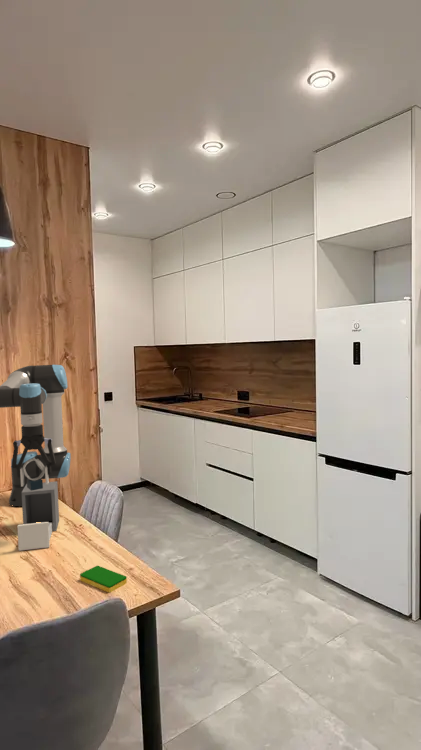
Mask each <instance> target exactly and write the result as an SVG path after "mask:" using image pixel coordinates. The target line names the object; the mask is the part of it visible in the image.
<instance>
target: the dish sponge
mask: <svg viewBox="0 0 421 750" xmlns="http://www.w3.org/2000/svg"><path fill="white" fill-rule="evenodd" d="M79 578H80V582H83V583H85V584H87V585H90V586H93V587H94V588H97V589H100V590H101V591H104V592H107V593H112V592H114V591H115V590H117V589H119V588H121V587H124V586H125V585H126V584H127V583H128V581H127V578H128V577H127V576H126V575H123V574H121V573H118V572H115V571H113V570H110V569H108V568H106V567H103V566H99V565H96V566H93V567H92V568H89V569H87V570H85V571H83V572H81V573H80V574H79Z"/></svg>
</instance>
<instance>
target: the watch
mask: <svg viewBox="0 0 421 750" xmlns="http://www.w3.org/2000/svg"><path fill="white" fill-rule="evenodd" d="M34 460H35V463H36V464H37V466H38V467H39V468H40V469H41V470H42V473H41V475H40V476H38V477H36V478H30V476H28V474H27V472H26V469H25V467H26V465H27V464H28V463H29V462H31V461H34ZM23 473H24V475H25V476H26V477H27V478H28V479H27V488H29V489H30V490H31V491H32V490H37V489H42V488H43V482H44V480H43V479H40V478H42V476H43V475H44V473H45V466H44V465H43V463H42V462H41V461H40V460H39V459H29V460H28V461H26V462H25V463H24V465H23Z"/></svg>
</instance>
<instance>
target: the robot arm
mask: <svg viewBox="0 0 421 750" xmlns="http://www.w3.org/2000/svg"><path fill="white" fill-rule="evenodd" d="M66 389H68V378H67V373H66V370H65V368H64V366H63V365H61V364H38V365H33V364H32V365H27V366H23V367H21V368H18V369H16V370H13V372H11V373H10V374H9V375H8V376H7V380H5V381H4V382H3V383H2V384H1V385H0V408H1V409H2V408H18V407H19V408H20V424H21V430H20V431H21V439H19V440H14V441H13V442H12V446H13V452H12V453H13V454H12V458H11V460H10V462H11V464H10V470H11V484H12V486H11V487H12V488H11V491H10V495H9V499H8V504H10V505H13V506H22V491H23V489H24V487H25V486H26V484H27V479H28V478H27V477H26V476H25V475H24V473H23V465H24V463H25V462H26V461H28V460H29V459H39V460H40V461H41V462H42V463H43V465H44V466H45V473H44V475H43V476H42V478H40V479H42V480H45V482H46V484H48V483H49V482H50V481H49V479H61V478H63V479H64V478H66V477H68V475H69V473H70V469H71V468H70V467H71V461H72V460H71V459H72V456H71V452H68V449H67V448H68V447H65V445H64V427H63V424H64V423H63V406H62V396H63V395H64V394H65V390H66ZM21 444H22V446H24V448H23V452H22V453H19V449H20V448H19V447H20V445H21ZM43 444H44V446H42V445H43ZM32 450H34V451H32ZM36 450H37V451H38V452H39V453H40V454H39V453H38V452H37V451H36ZM18 453H19V454H18ZM25 469H26V472H27V474H28V476H30V478H36V477H38V476H40V475H41V473H42V470H41V469H40V468H39V467H38V466H37V464H36V463H35V460H34V461H31V462H29V463H28V464H27V465H26V467H25ZM10 505H9V506H10ZM13 506H12V507H13Z"/></svg>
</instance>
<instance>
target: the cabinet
mask: <svg viewBox="0 0 421 750" xmlns="http://www.w3.org/2000/svg"><path fill="white" fill-rule="evenodd" d="M58 490H59V487H58V481H55V480H54V481H49V483H48V484H46V481H43V488H42V489H37V490H32V491H31V490H30V489H29V488H27V484H26V486H25V487H24V489H23V491H22V507H21V508H22V509H21V510H22V523H23V524H31V523H36V522H48V523H50V522H49V521H52V532H57V530H58V526H59V524H60V523H59V522H60V507H59V491H58Z"/></svg>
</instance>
